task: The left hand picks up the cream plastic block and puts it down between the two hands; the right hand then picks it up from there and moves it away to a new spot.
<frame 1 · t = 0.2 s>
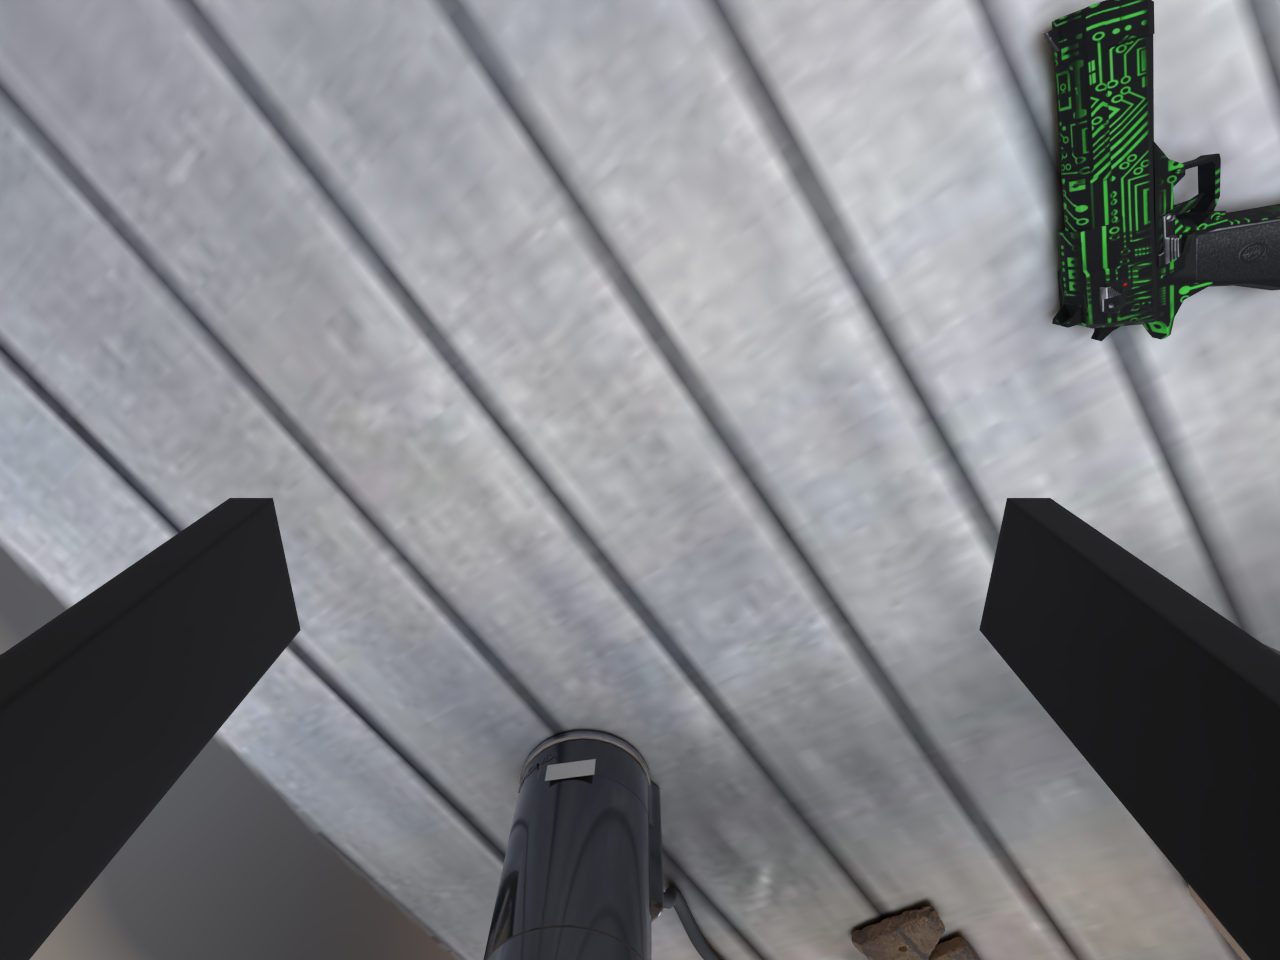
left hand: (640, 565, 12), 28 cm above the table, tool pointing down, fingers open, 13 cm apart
decorative block: (1219, 811, 51), on the table
handgun: (1172, 175, 35), on the table
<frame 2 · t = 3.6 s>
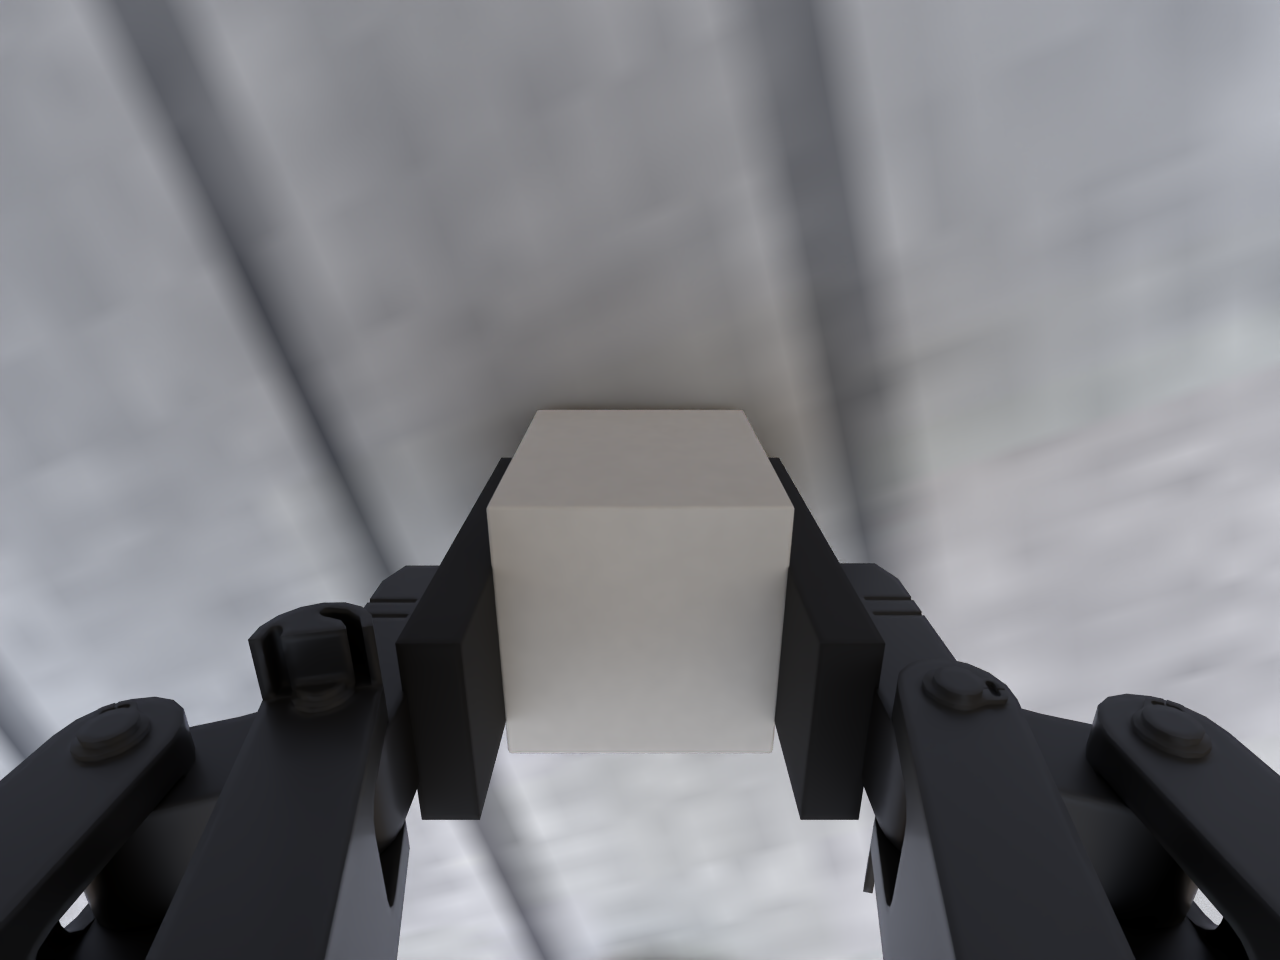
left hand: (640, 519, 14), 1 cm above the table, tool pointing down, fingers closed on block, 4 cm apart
block: (640, 505, 15), on the table, touching left hand
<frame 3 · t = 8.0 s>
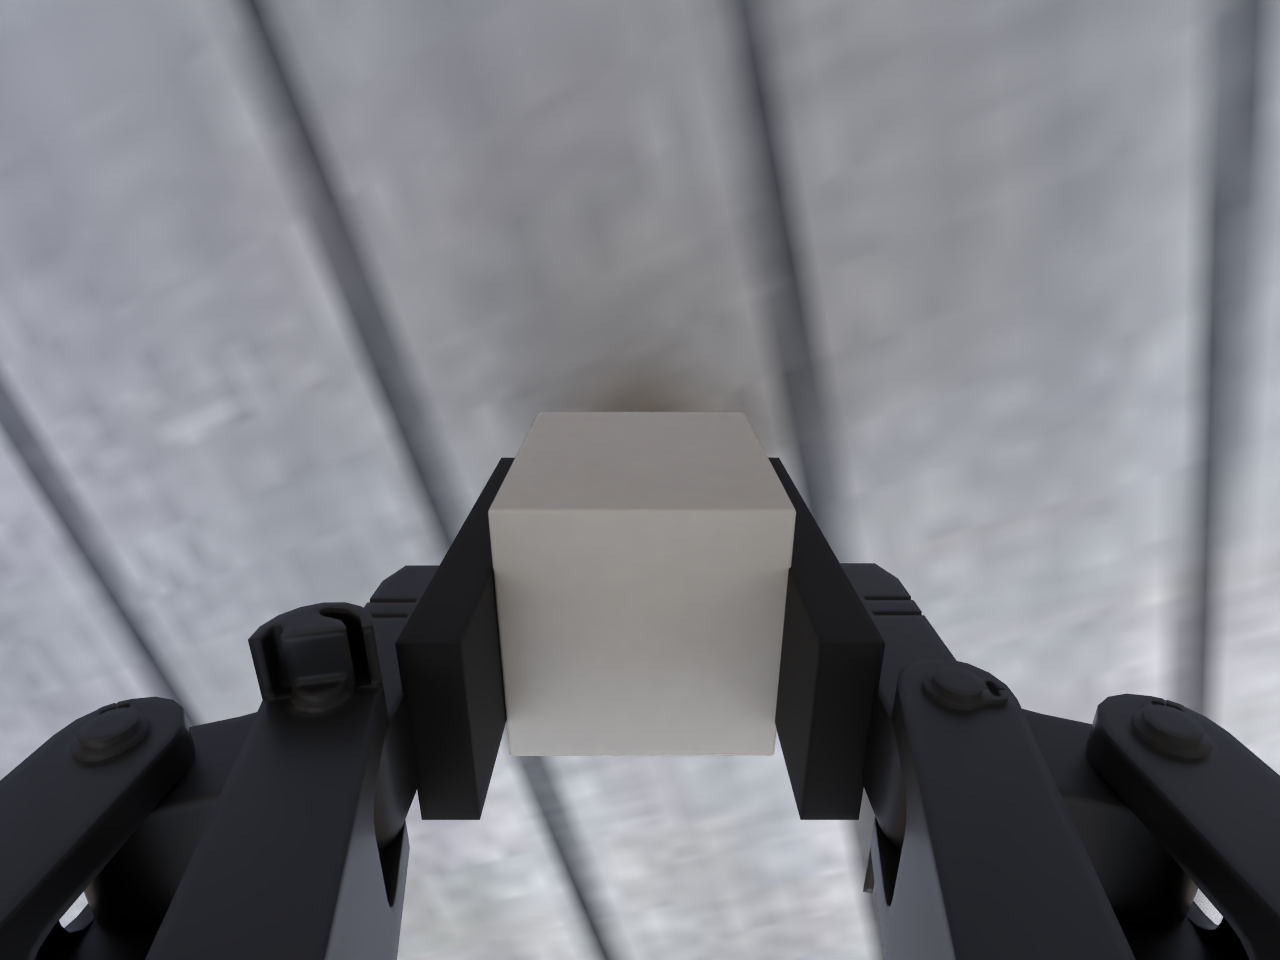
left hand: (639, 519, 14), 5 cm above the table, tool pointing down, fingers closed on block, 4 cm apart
block: (641, 507, 15), point 4 cm above the table, touching left hand
when the left hand's fingers open (1 cm above the table, at t = 12.3 s): block stays where it is, on the table.
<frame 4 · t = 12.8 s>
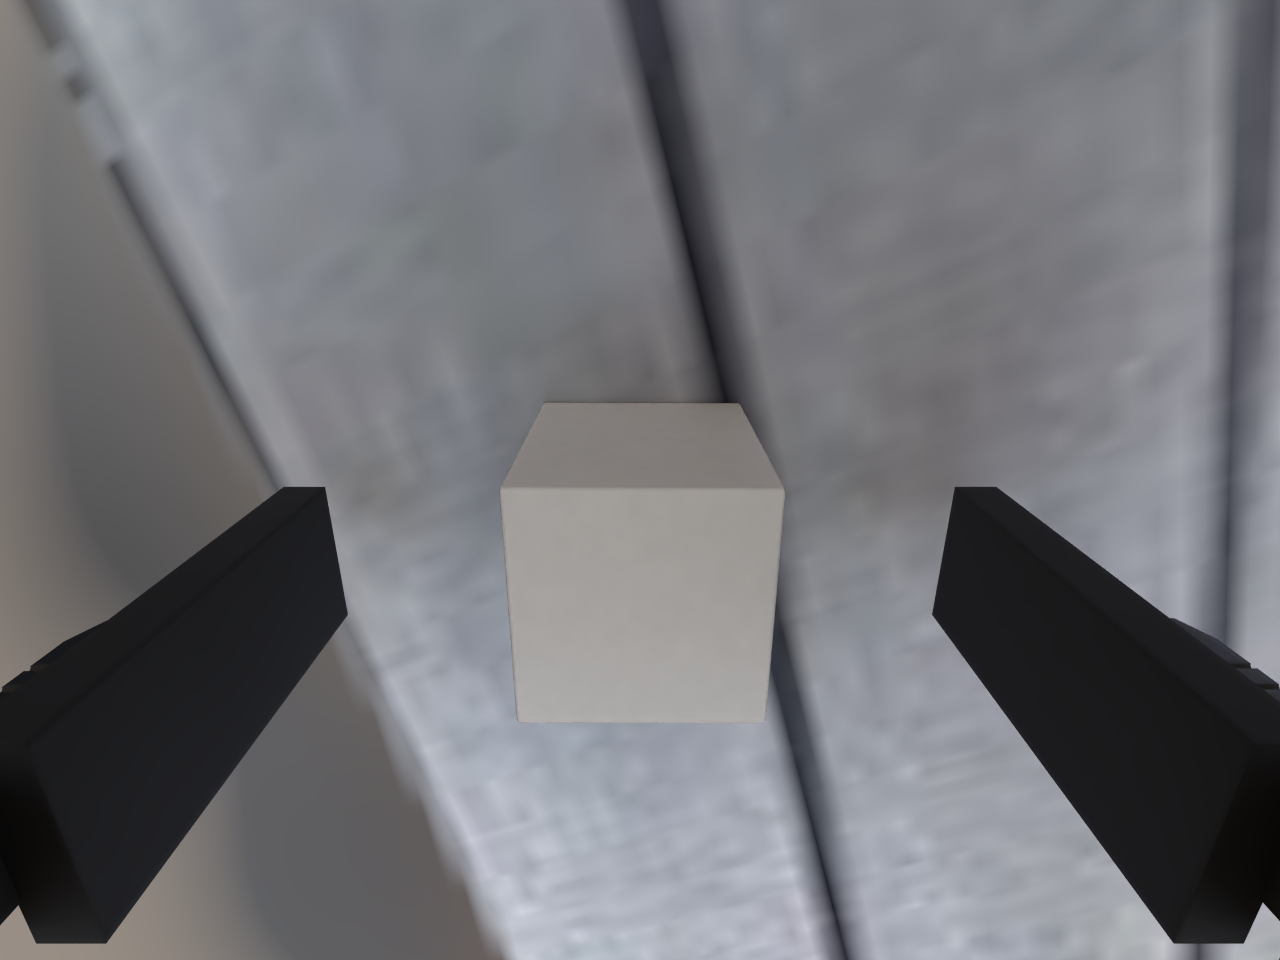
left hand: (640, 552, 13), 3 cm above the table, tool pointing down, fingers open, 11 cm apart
block: (641, 494, 15), on the table
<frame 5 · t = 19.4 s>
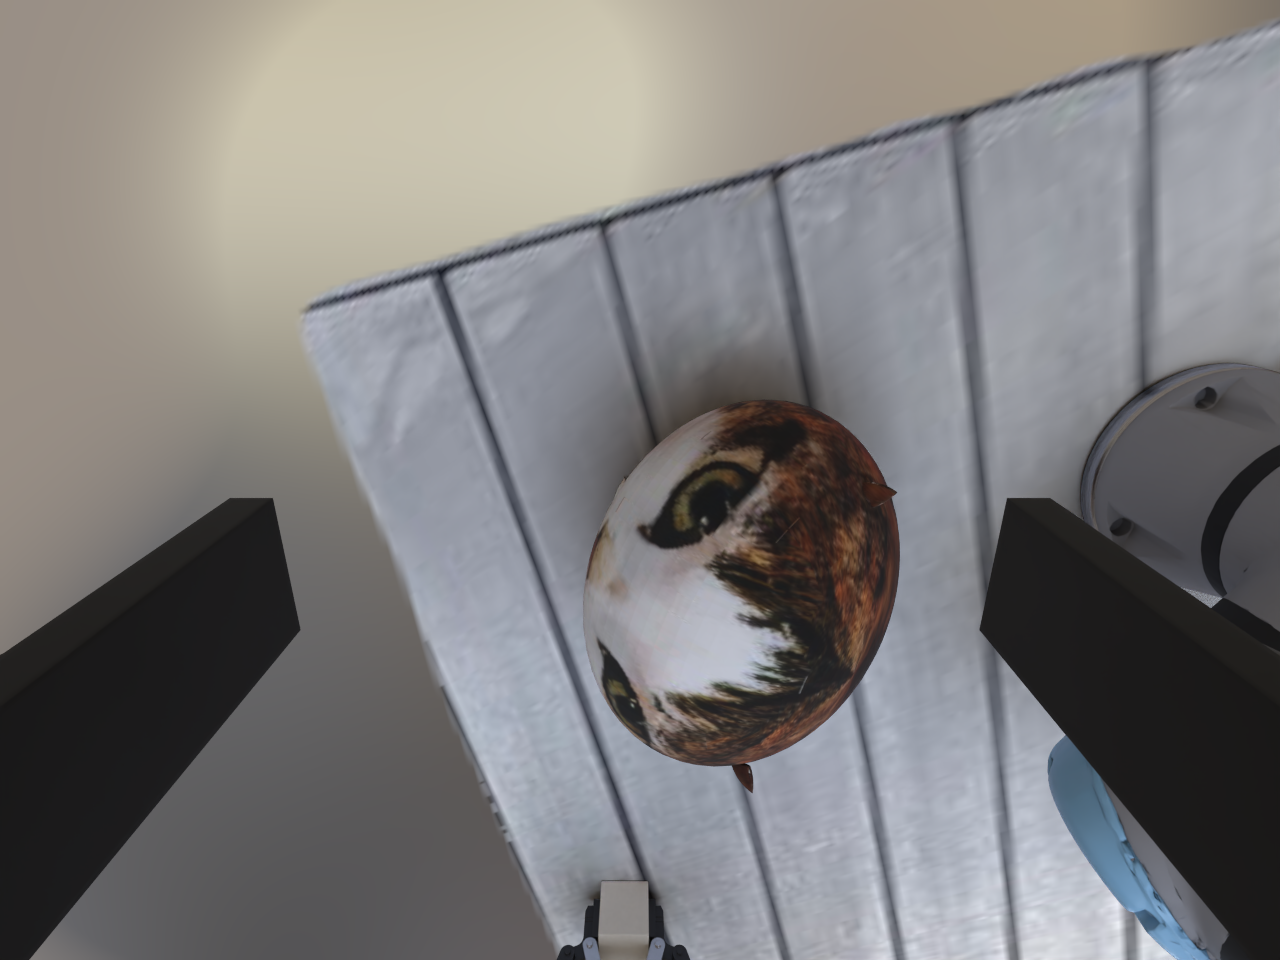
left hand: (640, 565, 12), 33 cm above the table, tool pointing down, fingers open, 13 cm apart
cat face balloon: (719, 521, 48), on the table
block: (624, 897, 62), on the table, touching right hand
when the right hand's fingers open (2 cm above the table, at t = 38.8 s): block stays where it is, on the table.
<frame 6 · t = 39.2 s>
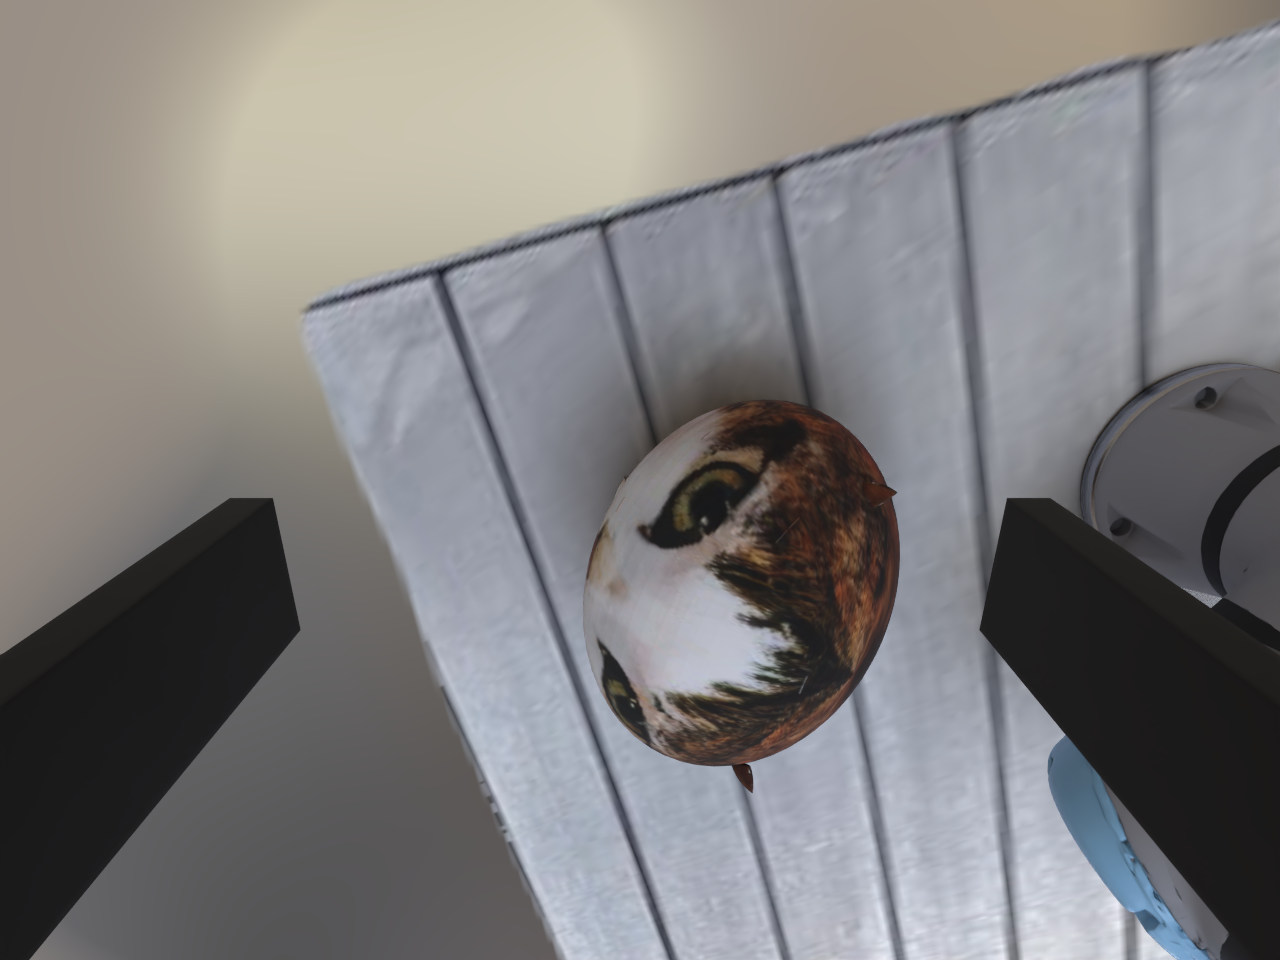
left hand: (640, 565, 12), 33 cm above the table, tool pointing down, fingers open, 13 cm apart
cat face balloon: (719, 521, 48), on the table
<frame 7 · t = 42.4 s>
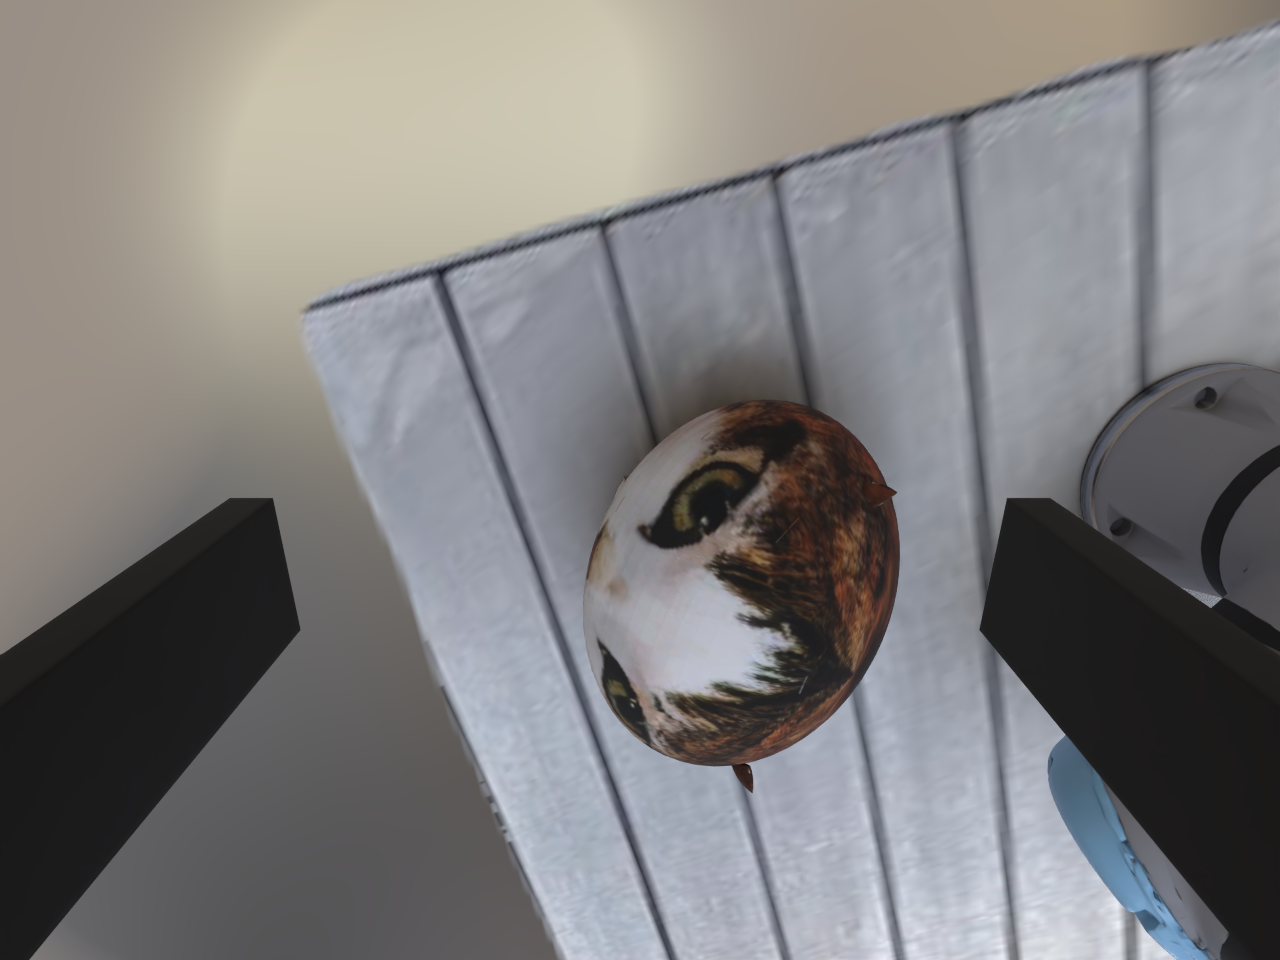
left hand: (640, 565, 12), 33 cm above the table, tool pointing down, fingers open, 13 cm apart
cat face balloon: (719, 521, 48), on the table
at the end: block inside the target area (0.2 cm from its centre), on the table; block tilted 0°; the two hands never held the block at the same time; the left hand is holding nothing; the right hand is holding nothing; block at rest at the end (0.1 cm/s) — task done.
